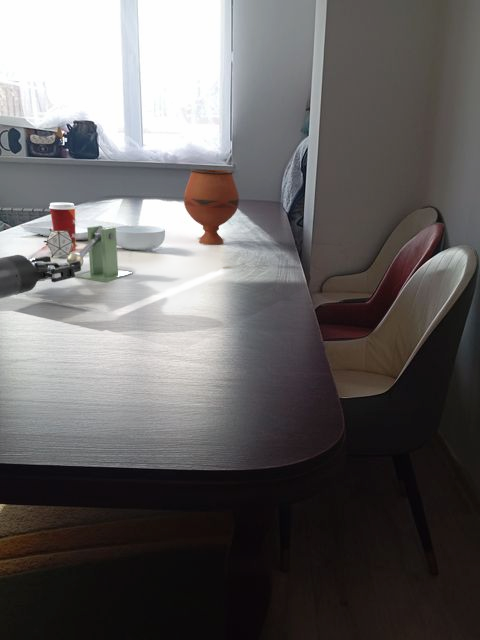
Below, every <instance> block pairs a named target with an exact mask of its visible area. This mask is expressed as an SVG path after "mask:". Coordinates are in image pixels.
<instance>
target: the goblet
mask: <svg viewBox="0 0 480 640" xmlns="http://www.w3.org/2000/svg"><path fill="white" fill-rule="evenodd" d="M190 172H191V173H190V176H189V178H188V181H187V185H186V186H185V190H184V195H183V204H184V208H185V210H186V212H187V214H188V215H189V216H190V217H191V218H192V219H193V221H195V223H198V224H199V225H201V226H202V230H204V233H203V234H202V236H201V237H199V241H198V243H200V244H202V243H203V244H202V245H209V246H211V245H213V246H215V245H222V244H224V240H223V238H222V237H221V236H220V234H219V233H218V231H219V230H220V226H222V225H224V224H225V223H227V222H228V221H229V220H231V218H233V216H234V215H235V214H236V212H237V210H238V208H239V205H240V204H239V202H240V198H239V192H238V189H237V185H236V182H235V179H234V177H233V171H230V170H226V169H224V170H223V169H192V168H191V169H190Z"/></svg>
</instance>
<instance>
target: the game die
mask: <svg viewBox="0 0 480 640" xmlns="http://www.w3.org/2000/svg"><path fill="white" fill-rule="evenodd" d="M49 230H50V231H51V232H50V234H49V237H48V236H47V239H46V240H43V243H45V246H46V247H48V249H49V251H50V253H51V256H50V259H52V258H54V257H56V256H68V255H69V254H71V253H72V251H71V250H72V247H73V245H74V246H75V245H77V244H73V242H75V241H72V239H71V237H70V235H69V233H68V231H69V229H67V231H52V230H51V229H50V228H49Z"/></svg>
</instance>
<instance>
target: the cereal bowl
mask: <svg viewBox="0 0 480 640" xmlns="http://www.w3.org/2000/svg"><path fill="white" fill-rule="evenodd" d="M115 228H116V243H117V247H120V248H122V249H124V250H129V251H139V252H147V253H149V252H152V250H154V249H157V248H159V247H160V246H161V245H163V243H164V241H165V237H166V230H165V228H164V227H163V228H162V227H160V226H152V225H130V226H117V227H115Z"/></svg>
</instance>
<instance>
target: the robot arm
mask: <svg viewBox="0 0 480 640" xmlns="http://www.w3.org/2000/svg"><path fill="white" fill-rule="evenodd" d="M51 259H52V258H51V256H49V255H45V256H40V257H27V256H24V255H22V254H15V255H9V256H4V257H0V300H1V299H6V298H9V297H12V296H16V295H19V294H24V293H27V292H30V291H33V289H34V288H35V287H36V285H37V283H38V282H45V281H47V280H50V281H51V282H52V283H57V282H60V281H66V280H69V279H74V278H76V277H75V276H76V273H79V272H81V270H82V266H81V262H80V261H74V262H70V263H67V262H65V263H58V262H57V261H52V260H51ZM52 267H53V268H52Z"/></svg>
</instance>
